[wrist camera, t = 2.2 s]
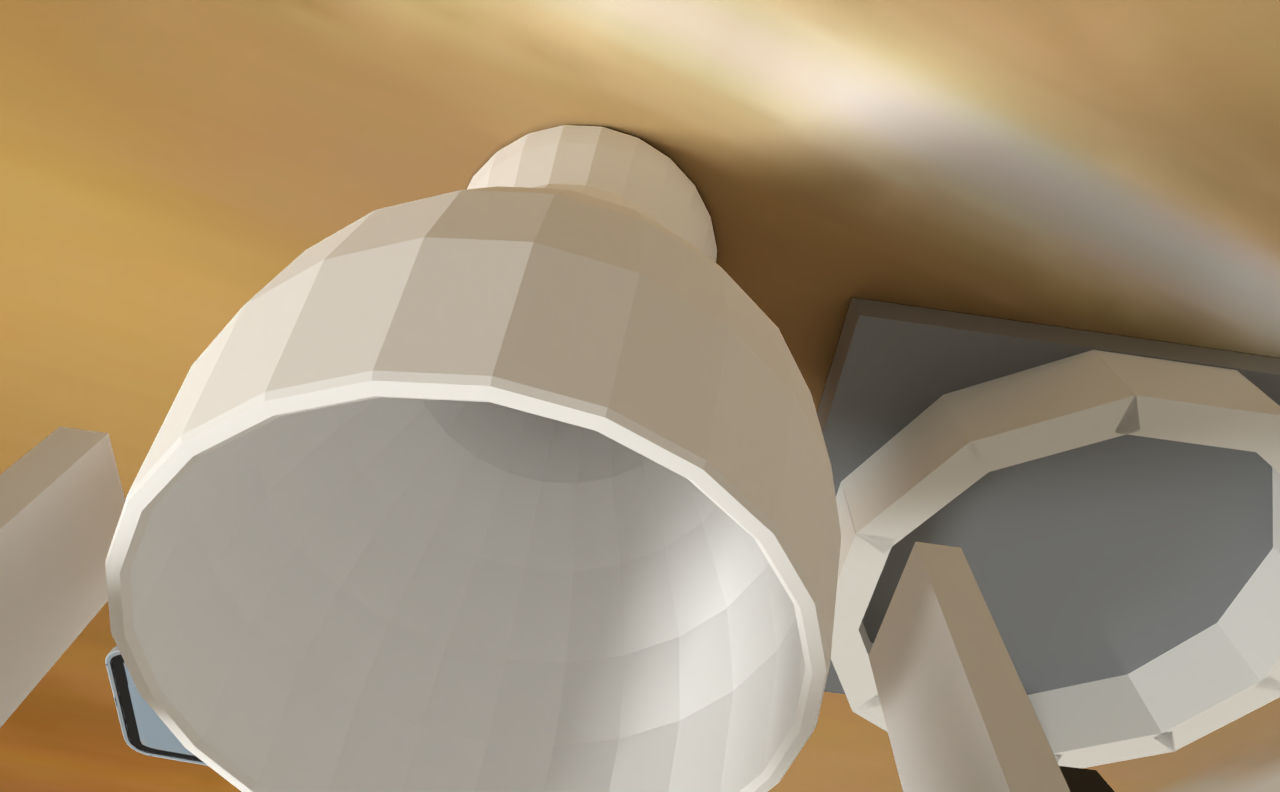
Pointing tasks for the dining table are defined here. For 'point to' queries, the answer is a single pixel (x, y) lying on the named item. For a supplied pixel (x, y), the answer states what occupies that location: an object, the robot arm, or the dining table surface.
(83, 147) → the dining table surface
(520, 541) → the cup
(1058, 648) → the holder tray
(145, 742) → the smartphone
